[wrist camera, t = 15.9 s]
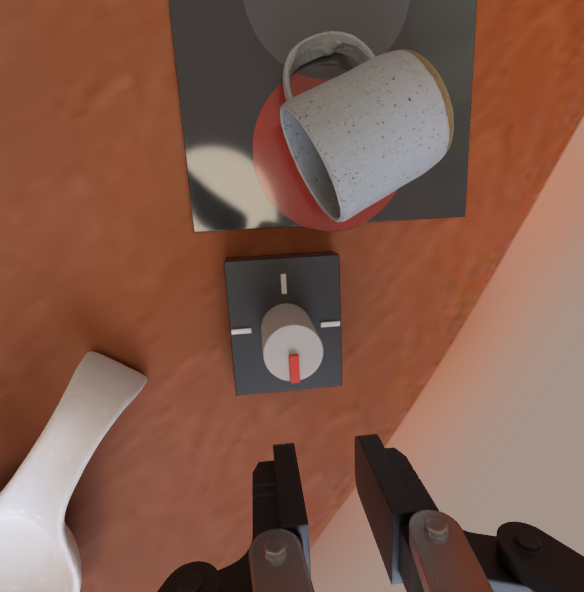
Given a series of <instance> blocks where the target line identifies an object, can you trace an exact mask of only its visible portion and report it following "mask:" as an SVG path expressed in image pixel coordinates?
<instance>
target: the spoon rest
mask: <svg viewBox="0 0 584 592" xmlns="http://www.w3.org/2000/svg"><path fill="white" fill-rule="evenodd" d="M147 381H148V379H147V377H146V376H144V375H143V374H141V373H139V372H137V371H135V370H133V369H131V368H129V367H127V366H125V365H123V364H121V363H119V362H117V361H115V360H113V359H111V358H109V357H106V356H104V355H102V354H99V353H97V352H92V351H89V352H87V353H86V355H85V356H84V357H83V359H82V361H81V362H80V364H79V365H78V367H77V368H76V370H75V372H74V374H73V376H72V378H71V380H70V383H69V385H68V387H67V389H66V391H65V392H64V394H63V396H62V398H61V400H60V402H59V404H58V406H57V407H56V409H55V411H54V413H53V415H52V416H51V418H50V420H49V422H48V423H47V425H46V427H45V428H44V430H43V432H42V433H41V435H40V436H39V438H38V440H37V441H36V443H35V444H34V446H33V447H32V449H31V450H30V452H29V454H28V455H27V457H26V458H25V460H24V461H23V463H22V464H21V465H20V467H19V468H18V470H17V471H16V473H15V474H14V476H13V477H12V479H11V480H10V481H9V482H8V484H7V485H6V486H5V488H4V489H3V490H2V491H1V492H0V592H80V589H81V583H82V567H81V559H80V553H79V549H78V546H77V543H76V540H75V538H74V536H73V534H72V532H71V531H70V529H69V528H68V526H67V525H66V524H65V512H66V508H67V505H68V502H69V500H70V498H71V495H72V493H73V491H74V489H75V487H76V485H77V483H78V481H79V479H80V477H81V475H82V473H83V471H84V469H85V467H86V465H87V464H88V462H89V460H90V458H91V456H92V455H93V453H94V452H95V450H96V448H97V447H98V445H99V443H100V442H101V440H102V439H103V437H104V436H105V435H106V433H107V432H108V430H109V429H110V428H111V426H112V425H113V424H114V422H115V421H116V419H117V418H118V417H119V416H120V414H121V413H122V412H123V411H124V410H125V409H126V407H127V406H128V405H129V404H130V403H131V402H132V400H133V399H134V398H135V397H136V396H137V395H138V393H139V392H140V391H141V390H142V389H143V387H144V386H145V384H146V383H147Z"/></svg>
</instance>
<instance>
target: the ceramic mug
mask: <svg viewBox="0 0 584 592" xmlns="http://www.w3.org/2000/svg"><path fill="white" fill-rule="evenodd" d="M333 52H334V53H341V54H344V55H347V56H349V57H351V58H352V59H354V60H355V61H356V62H358V63H359V64H360V65H358V66H357V67H355V68H353V69H351V70H349V71H347V72H346V73H343V74H341V75H339V76H337V77H335V78H333V79H331V80H329V81H327V82H324V83H322V84H320V85H318V86H316V87H314V88H312V89H310V90H308V91H306V92H304V93H302V94H299V95H297V96H295V97H293V95H292V93H291V87H290V82H291V77H292V75H293V73H294V72H295V71H296V70H297V69H298V68H299V67H300V66H302V65H303V64H305V63H308V62H310V61H312V60H315V59H317V58H320V57H322V56H329V55H331V54H332V53H333ZM283 87H284V94H285V99H286V102H285V103H283V104H282V105H281V107H280V119H281V126H282V129H283V133H284V136H285V139H286V142H287V145H288V148H289V150H290V153H291V155H292V157H293V159H294V161H295V163H296V166H297V168H298V171H299V172H300V174H301V176H302V178H303V180H304V182H305V184H306V186H307V187H308V189H309V191H310V193H311V194H312V195H313V197H314V198H315V200H316V202H317V203H318V205H319V206H320V207H321V208H322V210H323V211H324V212H325V213H326V214H327V215H328V216H329V217H330V218H331V219H333V220H334V221H336V222H343V221H346V220H348V219H349V218H351V217H353V216H354V215H356V214H357V213H359V212H360V211H362V210H364V209H366V208H367V207H369V206H371V205H372V204H374V203H376V202H378V201H379V200H381V199H383V198H384V197H386V196H387V195H389V194H391V193H392V192H394V191H395V190H397V189H398V188H400V187H402V186H403V185H405V184H407V183H409V182H410V181H412V180H414V179H416V178H417V177H419V176H421V175H422V174H424V173H425V172H427V171H428V170H429V169H430V168H432V167H433V166H434V165H435V164H436V163H438V162H439V161H440V160H441V159H442V158H443V157H444V156H445V154H446V153H447V151H448V149H449V148H450V145H451V142H452V139H453V132H454V117H453V108H452V104H451V100H450V97H449V93H448V91H447V88H446V86H445V84H444V82H443V80H442V78H441V76H440V75H439V73H438V72H437V70H436V69H435V68H434V67H433V66H432V64H431V63H430V62H429V61H428V60H427V59H426V58H424V57H423V56H422V55H420V54H418V53H416V52H414V51H412V50H407V49H399V50H395V51H391V52H388V53H385V54H381V55H378V56H376V57H375V55H374V54H373V52H372V51H371V49H370V48H369V47H368V46H367V45H366V44H365V43H364V42H363V41H361V40H360V39H358V38H357V37H355V36H354V35H352V34H348V33H344V32H337V31H329V32H323V33H319V34H315V35H313V36H310V37H308V38H306V39H304V40H303V41H301V42H300V43H298V44H297V45H296V46H295V47H294V48H293V49H292V50H291V51H290V53H289V55H288V57H287V59H286V62H285V65H284V70H283Z"/></svg>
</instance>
